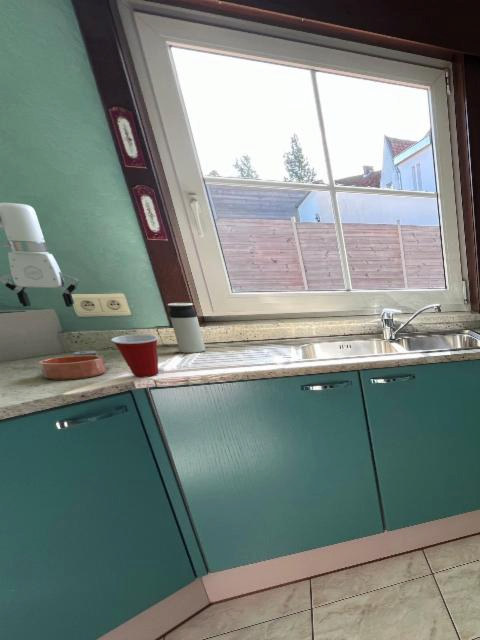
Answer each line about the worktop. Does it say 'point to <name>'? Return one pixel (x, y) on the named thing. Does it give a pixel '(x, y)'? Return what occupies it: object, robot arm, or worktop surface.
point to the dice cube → (85, 353)
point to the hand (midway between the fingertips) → (48, 306)
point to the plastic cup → (139, 353)
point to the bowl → (72, 367)
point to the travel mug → (186, 328)
